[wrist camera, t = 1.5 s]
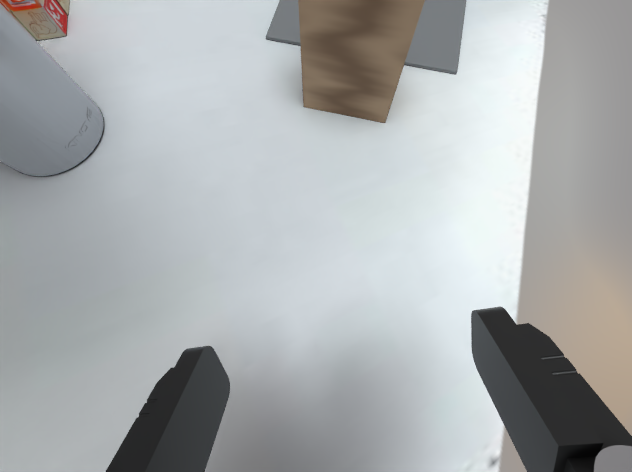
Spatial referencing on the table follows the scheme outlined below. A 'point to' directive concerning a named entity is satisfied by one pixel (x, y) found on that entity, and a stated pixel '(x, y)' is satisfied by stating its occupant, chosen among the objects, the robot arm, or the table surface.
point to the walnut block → (355, 53)
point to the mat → (428, 40)
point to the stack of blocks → (40, 16)
